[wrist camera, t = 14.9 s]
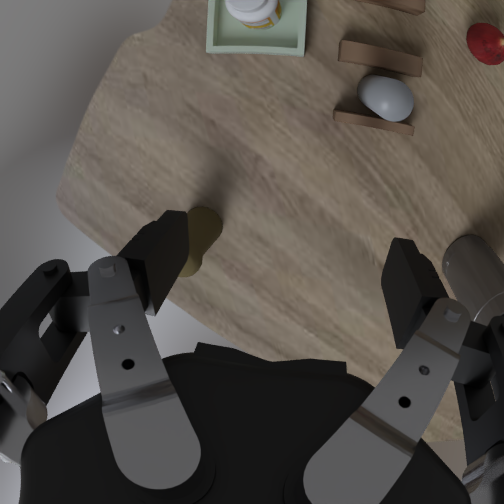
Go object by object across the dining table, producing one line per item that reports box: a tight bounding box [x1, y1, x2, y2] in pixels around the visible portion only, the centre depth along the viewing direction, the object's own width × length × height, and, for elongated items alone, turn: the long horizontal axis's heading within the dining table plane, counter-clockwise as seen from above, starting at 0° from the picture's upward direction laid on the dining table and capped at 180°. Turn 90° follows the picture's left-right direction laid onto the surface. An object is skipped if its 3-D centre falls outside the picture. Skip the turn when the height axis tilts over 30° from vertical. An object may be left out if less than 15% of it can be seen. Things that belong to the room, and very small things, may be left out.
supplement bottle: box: [225, 0, 282, 30], centre depth 25 cm, size 5×5×10 cm
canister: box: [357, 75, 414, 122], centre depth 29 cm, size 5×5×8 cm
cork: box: [178, 207, 223, 277], centre depth 42 cm, size 6×6×11 cm
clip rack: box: [333, 0, 425, 136], centre depth 27 cm, size 10×27×3 cm, turn 178°
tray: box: [206, 0, 307, 57], centre depth 29 cm, size 12×12×2 cm
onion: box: [466, 23, 504, 65], centre depth 22 cm, size 6×6×8 cm
